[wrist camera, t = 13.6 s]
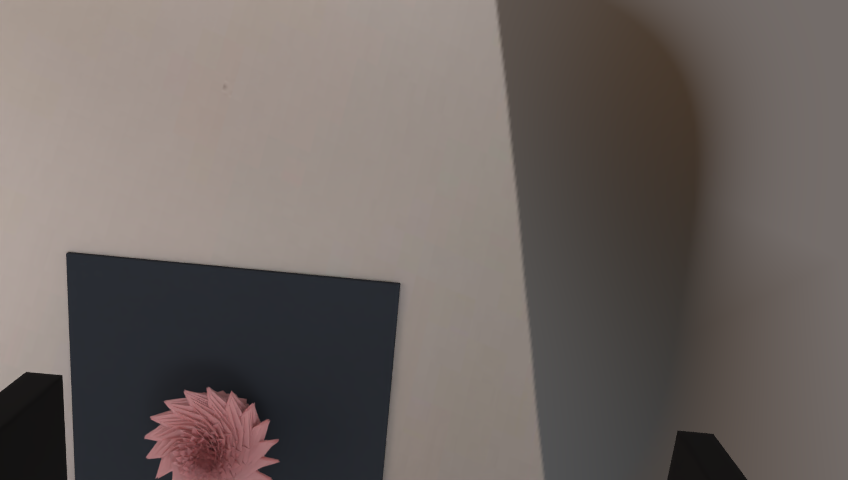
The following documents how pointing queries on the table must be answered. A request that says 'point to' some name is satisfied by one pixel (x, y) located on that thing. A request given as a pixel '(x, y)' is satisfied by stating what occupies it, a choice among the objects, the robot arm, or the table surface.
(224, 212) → the table surface
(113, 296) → the mat
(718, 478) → the robot arm
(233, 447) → the flower
